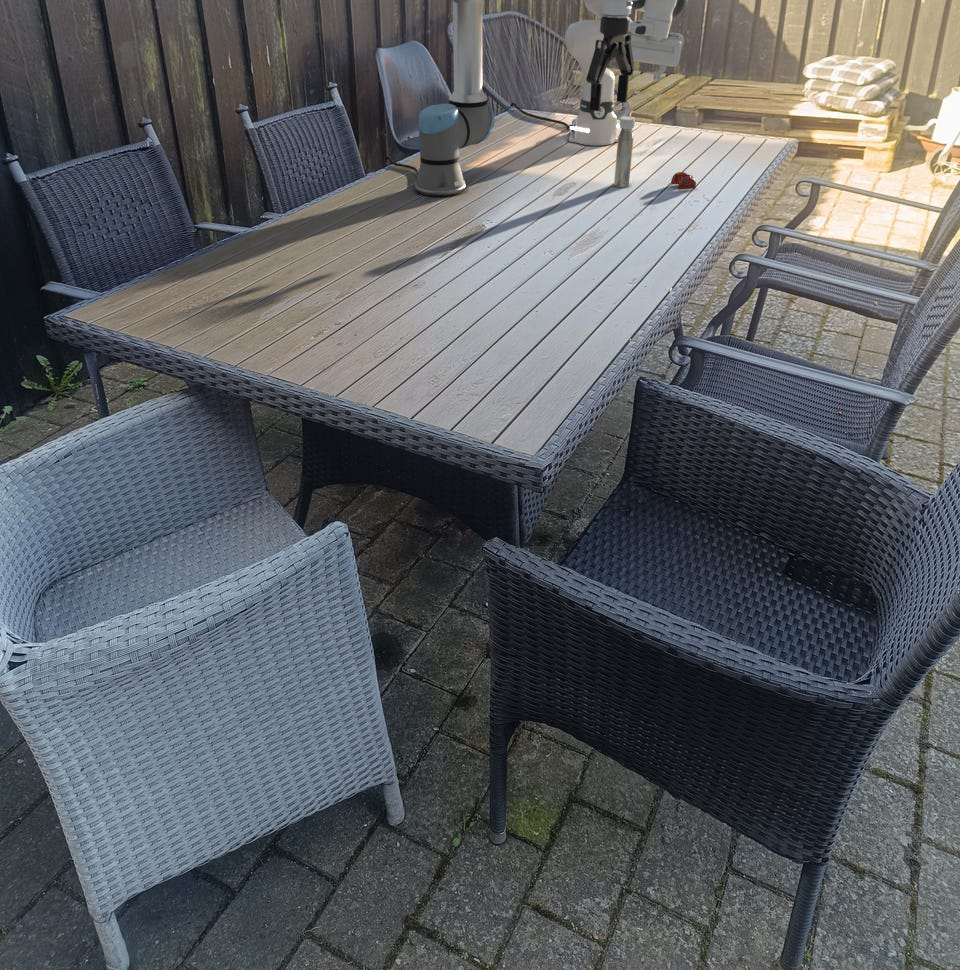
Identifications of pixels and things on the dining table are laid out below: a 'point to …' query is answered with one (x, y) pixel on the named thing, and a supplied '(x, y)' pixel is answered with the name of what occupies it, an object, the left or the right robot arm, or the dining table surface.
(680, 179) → the dental model
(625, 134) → the bottle
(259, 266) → the dining table surface
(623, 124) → the cap
